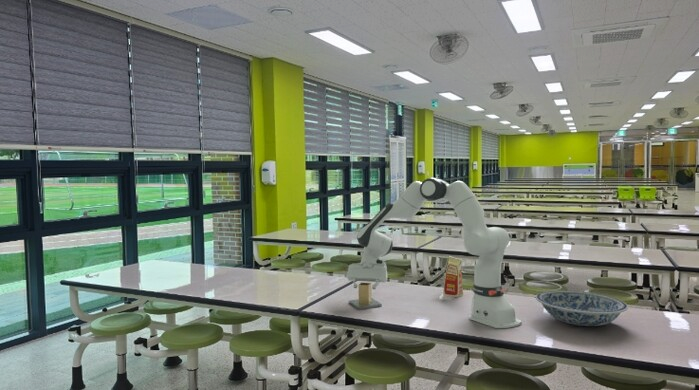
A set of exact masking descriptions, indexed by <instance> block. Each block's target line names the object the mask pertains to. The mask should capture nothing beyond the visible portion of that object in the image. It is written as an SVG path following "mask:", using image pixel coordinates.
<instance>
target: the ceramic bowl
mask: <svg viewBox="0 0 699 390" xmlns="http://www.w3.org/2000/svg"><path fill="white" fill-rule="evenodd" d="M535 299H536V301H537V302H538V303H540V304H541V305H542V306H543V308H544V309H545V312H547V313H548V314H549V315H550V316H552V318H555V320H558V321H560V322H563V323H565V324H571V325H574V326H580V327H582V326H583V327H598V326H603V325H607V324H610V323H612V322H613V321H615V320H616V319H617V318H618V317H619V316H620V315H621V313H624V312H626V311H627V310H628V309H629V305H628V304H627V303H626V302H624V301H622V300H620V299H617V298H616V297H615V298H614V297H612V296H607V295H604V294H599V293H594V292H593V293H592V292H586V291H578V290H549V291H543V292H540V293H537V294H536V295H535Z"/></svg>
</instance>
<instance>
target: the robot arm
mask: <svg viewBox="0 0 699 390" xmlns="http://www.w3.org/2000/svg"><path fill="white" fill-rule="evenodd" d="M426 201H430V202H432V203H436V204H441V205H442V204H447V203H450V205H451V206H452V208H453V210H454V212H455V213H456V215H457V217H458V219H459V220H460V222H461V224H462V227H463V232H464V239H463V246H464V249H465V250H466V252H467V253H468V254H470V255H471V256H472V255H473V256H478V259H477V261H476V263H475V264H474V267H473V268H474V269H473V271H474V272H473V273H474V275H473V276H474V277H473V278H474V283H473V285H472V286H473V287H472V290H473V297H472V300H471V309H470V315H469V317H468V319H469V320H471V321H474V322H477V323H478V324H479V323H480V324H483V325H486V326H488V327H492V328H495V329H507V328H508V329H509V328H513V327H517V326H520V325H522V323H523V322H522V320H520V319H519V318H517V317H516V309H515V307H514V306H513V304H511V303H510V302H509V300H508V299H507V298H506V297H505V295H504V293H505V292H506V291H505V290H506V289H503V286H502V284H501V281H502V280H501V277H502V276H501V275H502V274H501V272H502V264H503V259H504V254H505V252H506V249H507V247H508V246H509V244H510V234H509V232H508V231H507V230H506V229H504V228H502V227H499V226H492V227H488V226H487V224H486V221H485V215H486V213H485V210H484V209H483V207H482V205H481V203H480V202H479V200H478V199H477V197H476V195H475V194H474V193H473V191H472V190H471V188H470V187H469V186H468V185H467V184H466V183H465V182H464V181H462V180H457V181H454V182H452V183H449V182H447V181H445V180H443V179H441V178H435V177H428V178H426V179H424V180H423V181H420V180H419V181H418V180H415V181H413V182H411V183H410V184H409V186H407V188H405V190H404V191H403V193H402V194H401V195H400V197H399V198H397V200H394V201H393V202H389V203H386V204H385V206H383V207H382V208H381V209H380V210H379V211H378V212H377V213H376V214H375V215H374V216H373V217H372V219H370V221H369V222H367V224H365V225H364V226H363V227H362V228H361V229H360V230H359V231H358V233H357V235H356V239H357V242H358V245H359V246H361V247H363V251H362V252H363V253H362V255H361V259H360V263H355V262H354V263H351V264H349V265H348V270H347V272H346V278H347V280H348V281H351V282H353V288H354V289H358V285H359V284H358V283H357V282H366V283H374V284H372V285H371V290H377V287H378V286H379V285H380V283H386V282H387V281H388V271H387V270H388V268H387V262H386V261H384V260H382V259H380V258H381V257H385V256H387V255H389V254H390V253H391V252H392V249H393V245H394V244H393V239H392V238H391V237H389V236H388V235H385V234H383V233H382V232H379V231H378V230H377V229H378V228H379V227H380V226H381V225H382V224H383V223H384V221H386V220H388V219H393V218H394V219H403V220H407V219H408V220H409V219H411V218H413V217H415V216H416V214H417V213H418V212H419V210H420V209H421V208H422V206H423V205H424V203H426Z"/></svg>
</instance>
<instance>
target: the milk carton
mask: <svg viewBox="0 0 699 390" xmlns="http://www.w3.org/2000/svg"><path fill="white" fill-rule="evenodd" d="M463 260H464V259H463V258H456V257H454V256H451V255H448V261H447V266H446V268H445V275H444V280H443V281H444V282H443V288H442V289H443V293H442V294H443V295H442V297H443V296H445V297H451V298H452V297H454V298H459V297H463V296H464V291H463V272H462V262H463Z"/></svg>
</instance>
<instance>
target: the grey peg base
mask: <svg viewBox="0 0 699 390" xmlns="http://www.w3.org/2000/svg"><path fill="white" fill-rule="evenodd" d="M348 303H349V304H350V305H351V306H352V307H354V308H355V309H357V310H358V311H359V310H366V309H373V308H378V307H380V308H381V307H382V303H381V302H379V301H378V300H376V299H375V298H373V297H371V302H370V303H369V304H361V303H359V298H358V299H350V300H348Z"/></svg>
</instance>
